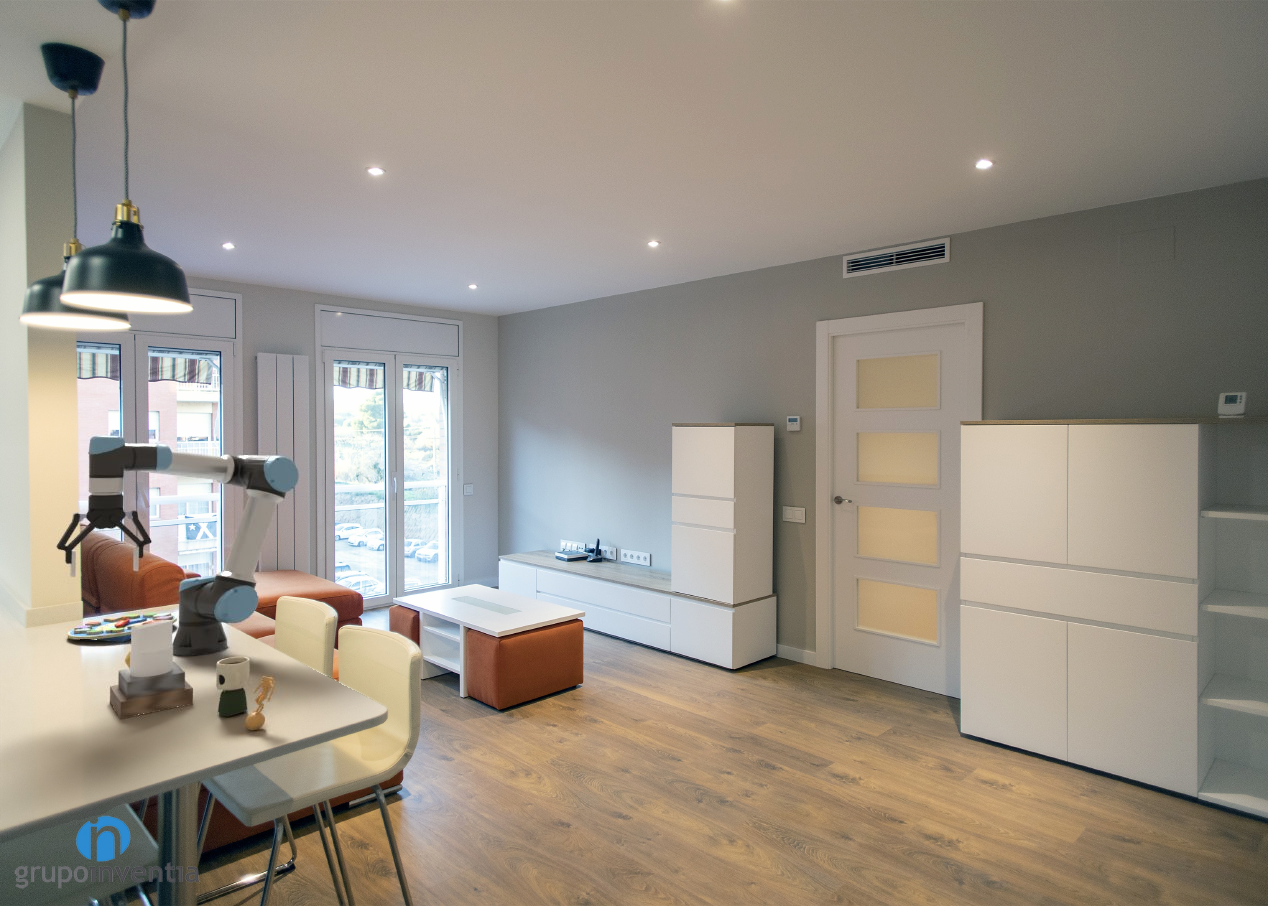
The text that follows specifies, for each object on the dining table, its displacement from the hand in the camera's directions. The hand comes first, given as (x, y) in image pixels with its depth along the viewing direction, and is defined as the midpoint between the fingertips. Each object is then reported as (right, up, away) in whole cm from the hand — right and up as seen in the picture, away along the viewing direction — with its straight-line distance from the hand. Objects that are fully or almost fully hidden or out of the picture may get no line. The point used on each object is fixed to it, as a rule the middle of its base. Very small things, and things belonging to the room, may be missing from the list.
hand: (105, 573), depth 190 cm
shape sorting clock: (-34, -30, +55) cm, 72 cm away
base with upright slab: (+19, -23, -10) cm, 32 cm away
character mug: (+43, -32, -16) cm, 56 cm away
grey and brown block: (+19, -31, -10) cm, 38 cm away
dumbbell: (+6, -31, +9) cm, 33 cm away
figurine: (+54, -32, -25) cm, 68 cm away
